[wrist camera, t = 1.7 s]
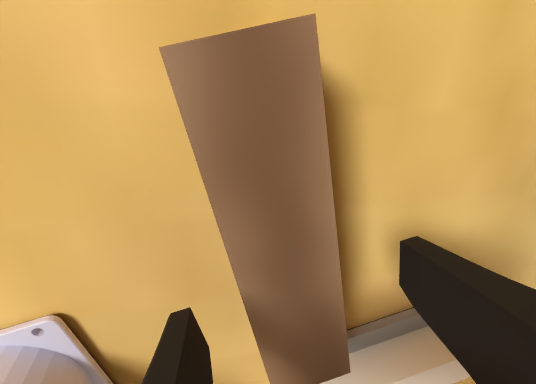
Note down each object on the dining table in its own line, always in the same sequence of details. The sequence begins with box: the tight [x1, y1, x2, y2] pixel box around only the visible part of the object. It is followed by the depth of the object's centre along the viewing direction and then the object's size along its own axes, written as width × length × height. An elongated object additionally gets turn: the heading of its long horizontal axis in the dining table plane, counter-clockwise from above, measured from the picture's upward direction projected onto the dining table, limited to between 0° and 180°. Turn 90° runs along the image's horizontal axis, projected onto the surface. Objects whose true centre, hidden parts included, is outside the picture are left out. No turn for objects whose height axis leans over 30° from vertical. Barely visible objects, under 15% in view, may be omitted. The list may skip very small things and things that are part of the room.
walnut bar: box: [159, 14, 351, 384], centre depth 13 cm, size 4×16×4 cm, turn 11°
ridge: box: [320, 308, 471, 384], centre depth 21 cm, size 14×6×3 cm, turn 101°
